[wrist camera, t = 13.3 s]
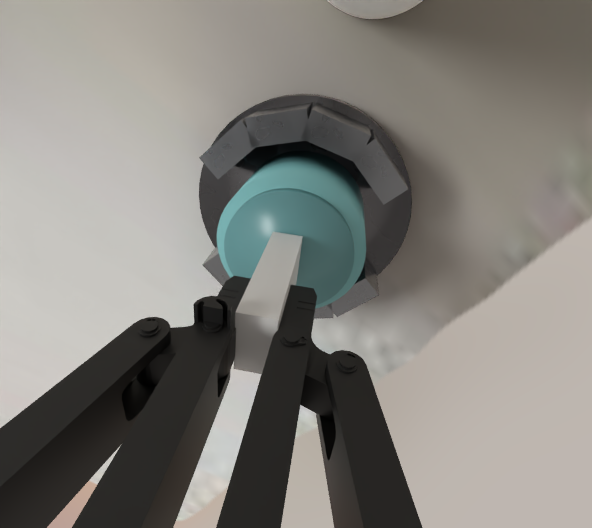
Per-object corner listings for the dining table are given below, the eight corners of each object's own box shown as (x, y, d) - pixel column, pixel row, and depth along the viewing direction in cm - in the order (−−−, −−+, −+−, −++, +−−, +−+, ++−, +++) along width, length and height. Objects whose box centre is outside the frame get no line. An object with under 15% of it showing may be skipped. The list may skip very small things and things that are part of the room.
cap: (240, 146, 22) (205, 173, 17) (371, 154, 21) (377, 185, 16) (245, 259, 26) (219, 309, 21) (356, 269, 25) (357, 324, 20)
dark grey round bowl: (201, 79, 21) (172, 83, 18) (438, 111, 20) (455, 121, 17) (206, 275, 29) (186, 305, 25) (381, 305, 28) (385, 340, 24)
